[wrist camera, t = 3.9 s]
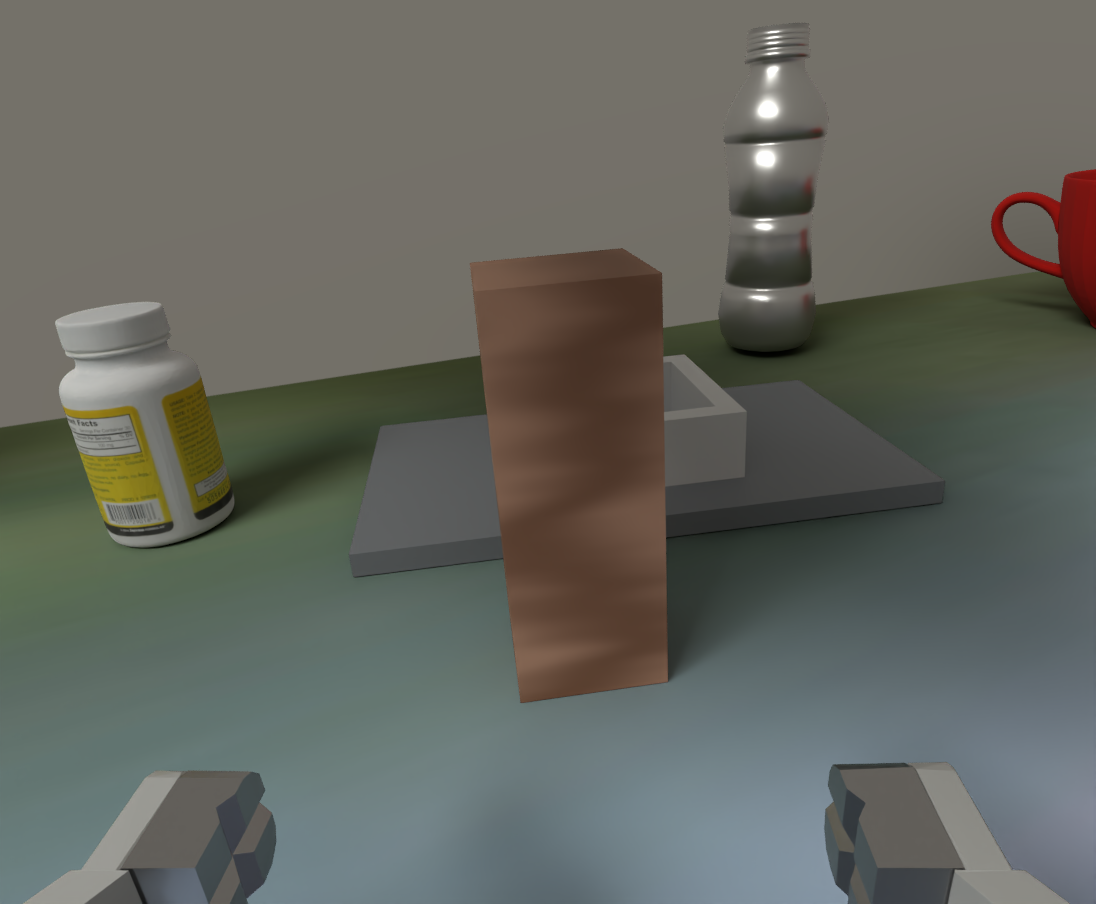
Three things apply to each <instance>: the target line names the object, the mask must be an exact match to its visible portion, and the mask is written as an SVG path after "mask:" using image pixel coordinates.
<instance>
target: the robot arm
mask: <svg viewBox="0 0 1096 904" xmlns="http://www.w3.org/2000/svg"><path fill="white" fill-rule="evenodd" d="M828 787H829V790H830V793H831V796H832V798H833V801H834V802H833V803H832V804H831V805H830V806H829V807H827V808H826V809H825V825H824V830H825V841H826V850H827V855H828V859H829V864H830V868H831V871H832V874H833V877H834V881H835V884H836V885H837V886H838V887H839V888H840V889H841V890H842V891H843V892H844V893H845V894H846V895H848V904H1070V903H1069V902H1067V901H1066V900H1065V899H1063V898H1062V897H1060V896H1059V895H1058V894H1056V893H1055V892H1054V891H1052V890H1051V889H1050V888H1048V887H1047V886H1046V885H1044V884H1043V883H1042V882H1040V881H1039V880H1037V879H1036V878H1035V877H1033V876H1032V875H1031V874H1029V873H1028V872H1027V871H1025V870H1012V868H1011V866H1010V864H1009V863H1008V861H1007V859H1006V857H1005V856H1004V854H1003V852H1002V850H1001V849H1000V847H999V845H998V844H997V842H996V840H995V838H994V837H993V835H992V833H991V831H990V830H989V828H988V826H987V824H986V823H985V821H984V819H983V817H982V816H981V814H980V812H979V811H978V809H977V807H976V805H975V804H974V802H973V800H972V798H971V797H970V795H969V793H968V791H967V790H966V788H965V786H964V784H963V783H962V781H961V779H960V777H959V776H958V774H957V772H956V771H955V769H954V768H953V767H952V766H951V765H950V764H948V763H947V762H936V763H908V764H906V763H878V764H833V765H832V767H831V770H830V772H829V781H828ZM264 792H265V788H264V785H263V782H262V780H261V777H260V774H259V773H255V772H240V771H155V772H153V773H152V774H150V775H149V776H147V777H146V778H145V779H144V780H143V782H142V783H141V784H140V786H139V787H138V789H137V790H136V792H135V793H134V794H133V796H132V797H131V799H130V800H129V802H128V803H127V804H126V806H125V807H124V809H123V810H122V812H121V813H120V815H119V816H118V817H117V819H116V820H115V822H114V823H113V825H112V826H111V827H110V829H109V830H108V832H107V833H106V835H105V836H104V838H103V839H102V840H101V842H100V843H99V845H98V846H97V848H96V849H95V850H94V852H93V853H92V855H91V856H90V858H89V859H88V861H87V862H86V863H85V865H84V866H83V868H82V869H81V870H70V871H69V872H68V873H66V874H65V875H63V876H62V877H60V878H59V879H57V880H56V881H55V882H53V883H52V884H50V885H49V886H47V887H46V888H45V889H43V890H42V891H40V892H39V893H37V894H36V895H35V896H33V897H32V898H30V899H29V900H27V901H26V902H24V903H23V904H248V902H247V898H248V897H249V896H251V895H252V894H253V893H254V892H255V891H256V890H257V889H259V888H260V887H261V886H262V885H263V884H264V883H265V880H266V878H267V875H268V873H269V871H270V868H271V866H272V862H273V857H274V852H275V846H276V825H275V822H274V818H273V814H272V812H270V811H269V810H268V809H267V808H266V807H264V806H263V805H262V804H261V803H260V800H261V798H262V796H263V794H264Z"/></svg>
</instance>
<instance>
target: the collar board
mask: <svg viewBox="0 0 1096 904" xmlns="http://www.w3.org/2000/svg"><path fill="white" fill-rule="evenodd" d="M663 373H664V442H665V512H666V538H667V537H674V536H682V535H690V534H698V533H706V532H714V531H722V530H730V529H738V528H746V527H753V526H761V525H769V524H777V523H785V522H793V521H801V520H809V519H817V518H825V517H832V516H840V515H848V514H856V513H864V512H872V511H880V510H888V509H896V508H904V507H911V506H919V505H927V504H935V503H942V500H943V493H944V487H945V480H944V479H942V478H941V477H939V476H938V475H936V474H935V473H933V472H932V471H930V470H929V469H928V468H926V467H925V466H923V465H922V464H920V463H919V462H917V461H916V460H914V459H913V458H912V457H910V456H909V455H907V454H906V453H904V452H903V451H901V450H900V449H898V448H897V447H896V446H894V445H893V444H891V443H890V442H888V441H887V440H885V439H884V438H882V437H881V436H880V435H878V434H877V433H875V432H874V431H872V430H871V429H869V428H868V427H866V426H865V425H864V424H862V423H861V422H859V421H858V420H856V419H855V418H853V417H852V416H850V415H849V414H848V413H846V412H845V411H843V410H842V409H840V408H839V407H837V406H836V405H834V404H833V403H832V402H830V401H829V400H827V399H826V398H824V397H823V396H821V395H820V394H818V393H817V392H816V391H814V390H813V389H811V388H810V387H808V386H807V385H805V384H804V383H802V382H801V381H799V380H793V381H784V382H775V383H766V384H757V385H748V386H739V387H730V388H721V387H720V386H718V385H717V384H716V383H715V382H714V381H713V380H712V379H711V378H710V377H709V376H707V375H706V374H705V373H704V372H703V371H702V370H701V369H700V368H699V367H698V366H697V365H695V364H694V363H693V362H692V361H691V360H690V359H689V358H688V357H687V356H686V355H685V354H684V355H675V356H666V357H663ZM349 558H350V563H351V568H352V573H353V577H358V576H366V575H374V574H382V573H390V572H398V571H406V570H414V569H422V568H429V567H437V566H445V565H453V564H461V563H469V562H477V561H485V560H493V559H501V558H503V550H502V542H501V533H500V524H499V515H498V506H497V497H496V489H495V480H494V471H493V462H492V453H491V445H490V436H489V427H488V418H487V414H486V415H477V416H468V417H459V418H450V419H441V420H432V421H423V422H414V423H405V424H396V425H387V426H381V427H380V431H379V435H378V439H377V443H376V447H375V451H374V455H373V459H372V463H371V467H370V471H369V475H368V479H367V483H366V487H365V491H364V495H363V499H362V503H361V507H360V511H359V516H358V520H357V524H356V528H355V532H354V536H353V540H352V544H351V548H350V552H349Z"/></svg>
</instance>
